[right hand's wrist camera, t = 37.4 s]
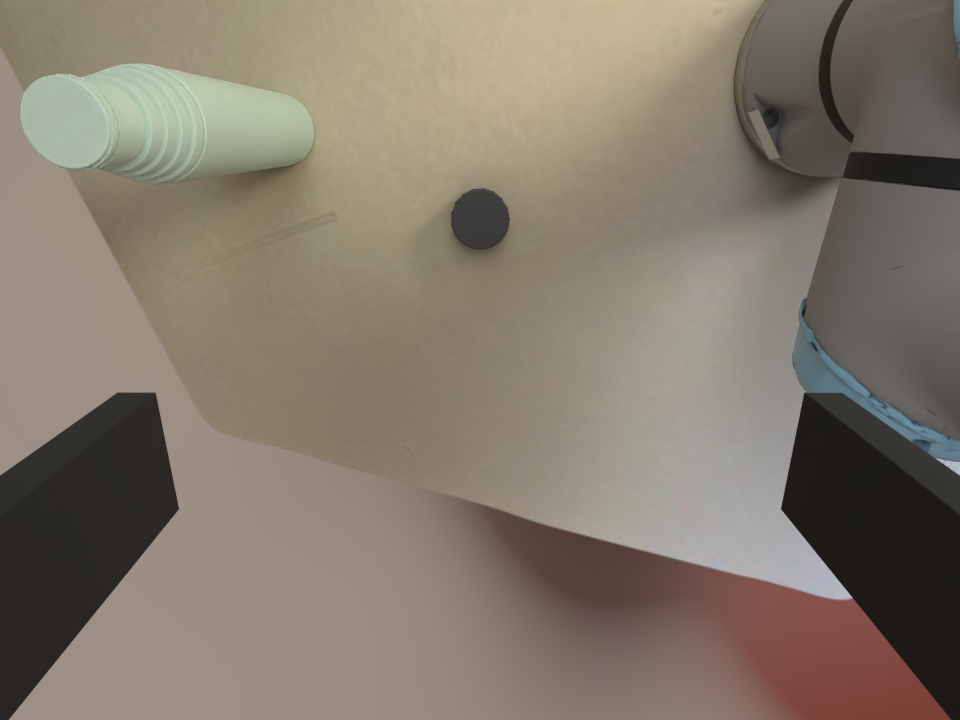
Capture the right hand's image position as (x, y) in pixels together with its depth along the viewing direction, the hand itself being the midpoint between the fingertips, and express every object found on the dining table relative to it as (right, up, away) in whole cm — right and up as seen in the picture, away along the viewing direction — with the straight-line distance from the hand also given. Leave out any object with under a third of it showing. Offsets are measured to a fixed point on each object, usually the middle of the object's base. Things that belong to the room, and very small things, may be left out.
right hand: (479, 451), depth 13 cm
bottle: (-15, +20, +34) cm, 42 cm away
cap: (0, +13, +35) cm, 37 cm away
